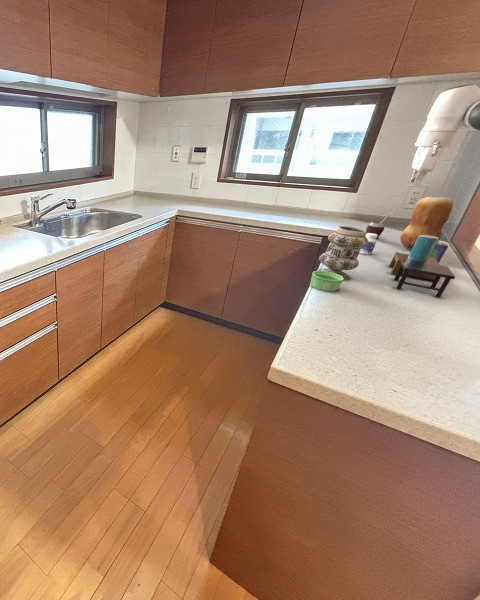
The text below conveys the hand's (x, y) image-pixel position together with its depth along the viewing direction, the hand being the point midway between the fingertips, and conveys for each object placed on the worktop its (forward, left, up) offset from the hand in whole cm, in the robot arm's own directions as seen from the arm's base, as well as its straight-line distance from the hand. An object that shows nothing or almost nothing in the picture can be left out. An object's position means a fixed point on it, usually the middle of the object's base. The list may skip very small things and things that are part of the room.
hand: (414, 183), depth 117 cm
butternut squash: (-16, -45, -33) cm, 58 cm away
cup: (-11, -2, -27) cm, 29 cm away
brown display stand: (-11, -2, -33) cm, 35 cm away
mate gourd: (-1, -61, -33) cm, 69 cm away
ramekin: (+16, +37, -33) cm, 52 cm away
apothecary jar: (+13, +20, -33) cm, 41 cm away
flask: (-17, -23, -33) cm, 43 cm away
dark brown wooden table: (-11, +16, -33) cm, 38 cm away
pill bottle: (+3, -24, -33) cm, 41 cm away
